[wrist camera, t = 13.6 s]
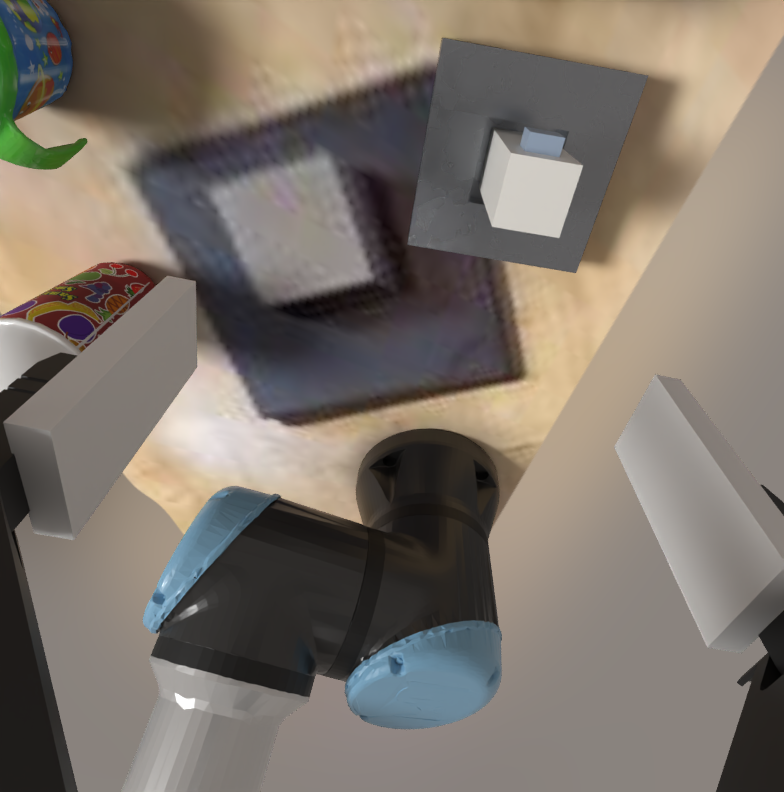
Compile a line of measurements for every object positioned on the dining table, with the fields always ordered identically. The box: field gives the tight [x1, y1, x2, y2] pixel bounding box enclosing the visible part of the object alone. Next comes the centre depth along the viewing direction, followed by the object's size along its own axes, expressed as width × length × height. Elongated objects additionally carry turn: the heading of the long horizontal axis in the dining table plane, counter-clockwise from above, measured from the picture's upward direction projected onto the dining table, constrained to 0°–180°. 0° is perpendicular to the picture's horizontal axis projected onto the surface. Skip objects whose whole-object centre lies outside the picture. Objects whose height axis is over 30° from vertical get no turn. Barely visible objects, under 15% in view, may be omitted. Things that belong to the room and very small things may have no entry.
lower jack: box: [408, 38, 648, 273], centre depth 37 cm, size 13×13×3 cm
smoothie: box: [0, 262, 155, 392], centre depth 38 cm, size 8×8×20 cm
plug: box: [479, 127, 583, 238], centre depth 33 cm, size 5×4×10 cm
